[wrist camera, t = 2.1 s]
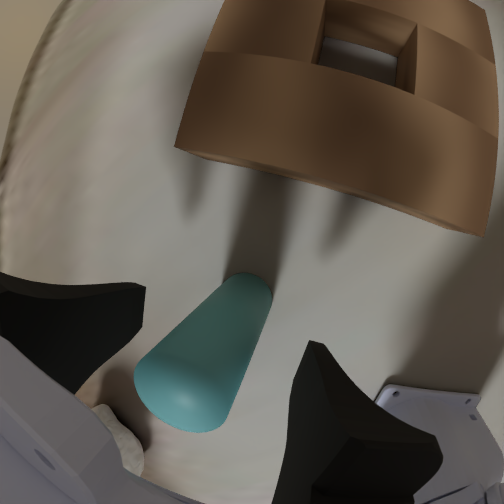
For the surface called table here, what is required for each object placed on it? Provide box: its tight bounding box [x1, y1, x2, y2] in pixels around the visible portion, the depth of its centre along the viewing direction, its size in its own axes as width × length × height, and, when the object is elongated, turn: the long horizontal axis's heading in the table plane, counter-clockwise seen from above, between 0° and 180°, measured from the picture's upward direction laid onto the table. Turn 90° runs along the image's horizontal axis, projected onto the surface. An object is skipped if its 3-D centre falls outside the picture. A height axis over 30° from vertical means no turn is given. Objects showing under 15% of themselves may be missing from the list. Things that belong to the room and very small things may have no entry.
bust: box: [91, 404, 144, 477], centre depth 16 cm, size 12×8×11 cm
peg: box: [134, 273, 272, 433], centre depth 11 cm, size 3×3×9 cm
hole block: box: [174, 0, 499, 237], centre depth 10 cm, size 14×14×4 cm
